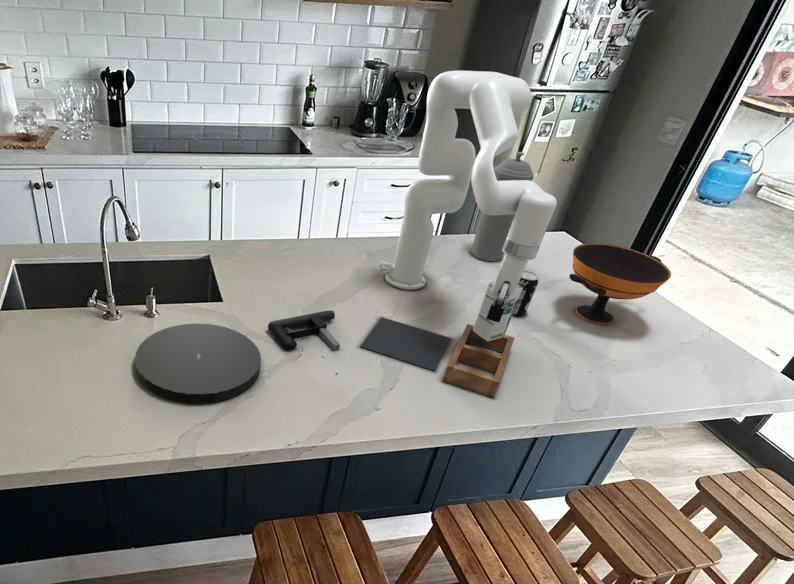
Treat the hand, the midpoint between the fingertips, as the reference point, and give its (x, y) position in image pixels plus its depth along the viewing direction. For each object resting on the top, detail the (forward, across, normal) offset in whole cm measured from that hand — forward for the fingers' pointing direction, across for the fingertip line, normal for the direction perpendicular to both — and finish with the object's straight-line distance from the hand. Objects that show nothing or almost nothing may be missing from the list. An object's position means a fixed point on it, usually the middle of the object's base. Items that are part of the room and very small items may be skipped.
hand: (495, 312), depth 144 cm
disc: (+13, +45, -60) cm, 76 cm away
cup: (+13, -42, +26) cm, 51 cm away
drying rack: (+13, +6, 0) cm, 14 cm away
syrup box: (+7, 0, 0) cm, 7 cm away
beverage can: (+13, -30, +4) cm, 33 cm away
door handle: (+13, +18, -42) cm, 47 cm away
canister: (+14, -67, -11) cm, 69 cm away
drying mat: (+13, +6, -19) cm, 23 cm away
